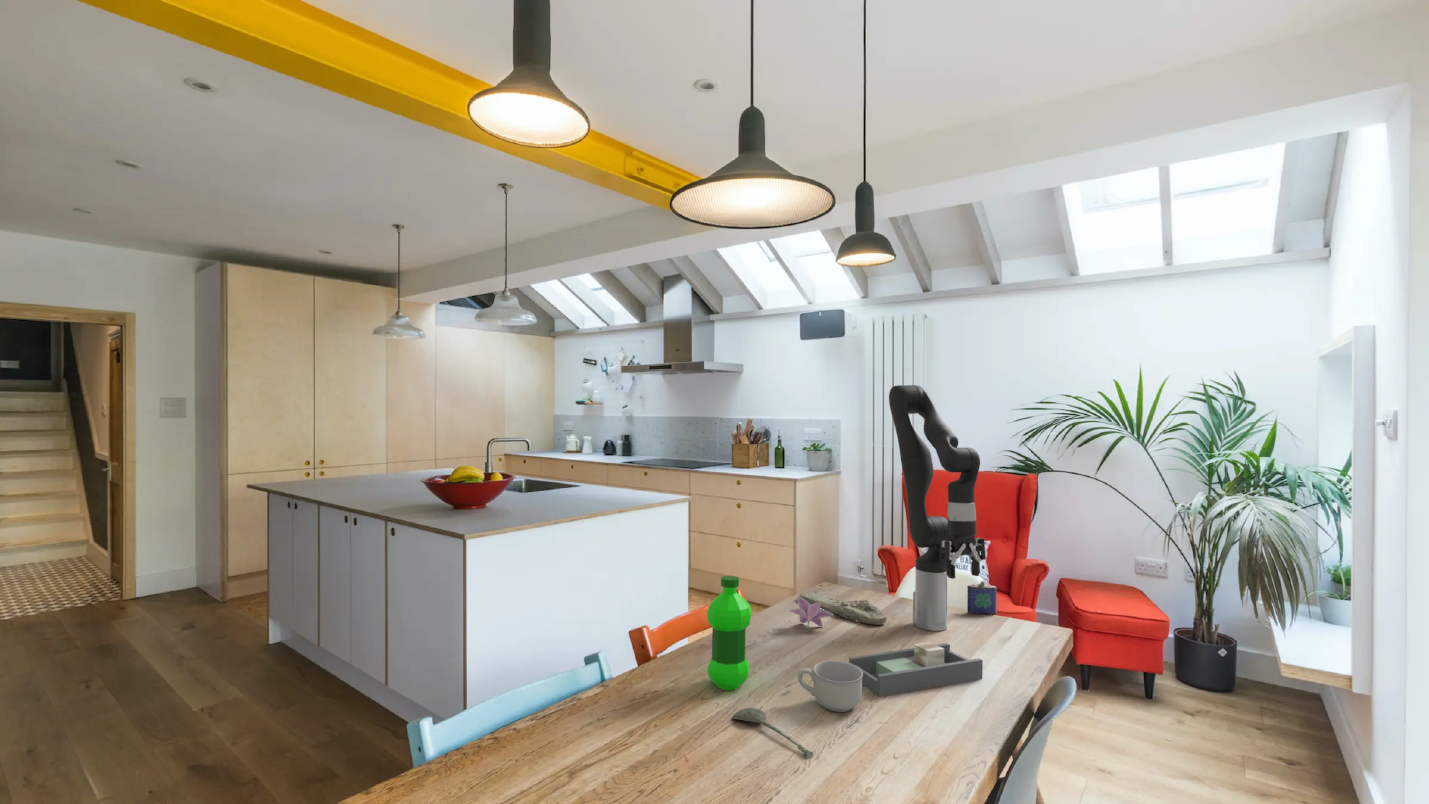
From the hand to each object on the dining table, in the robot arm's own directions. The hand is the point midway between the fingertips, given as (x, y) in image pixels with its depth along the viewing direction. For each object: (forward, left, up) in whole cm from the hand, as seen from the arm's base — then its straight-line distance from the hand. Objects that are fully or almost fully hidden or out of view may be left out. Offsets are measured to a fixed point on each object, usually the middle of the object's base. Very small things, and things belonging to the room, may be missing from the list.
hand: (963, 576), depth 184 cm
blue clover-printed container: (-21, +27, -19) cm, 39 cm away
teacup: (+20, -56, -19) cm, 62 cm away
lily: (-26, -34, -19) cm, 47 cm away
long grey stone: (-38, -16, -20) cm, 45 cm away
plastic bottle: (+3, -73, -19) cm, 75 cm away
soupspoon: (+27, -74, -20) cm, 81 cm away
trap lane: (+14, -28, -19) cm, 36 cm away
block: (+14, -24, -16) cm, 32 cm away
